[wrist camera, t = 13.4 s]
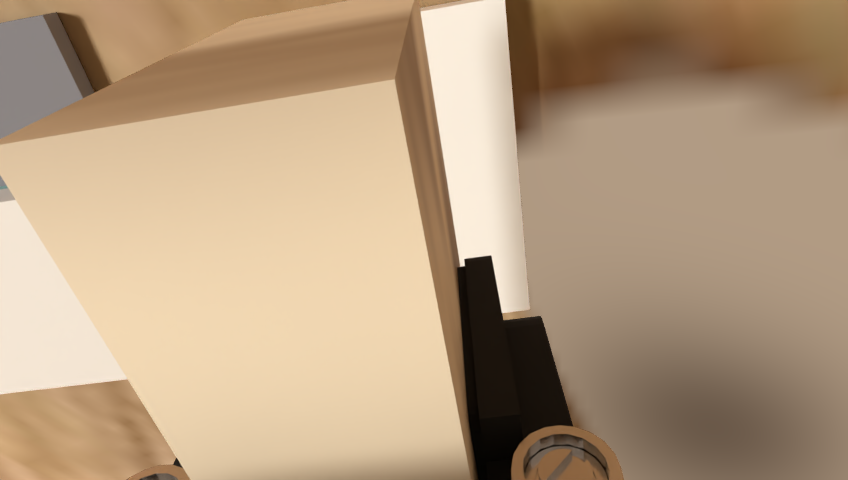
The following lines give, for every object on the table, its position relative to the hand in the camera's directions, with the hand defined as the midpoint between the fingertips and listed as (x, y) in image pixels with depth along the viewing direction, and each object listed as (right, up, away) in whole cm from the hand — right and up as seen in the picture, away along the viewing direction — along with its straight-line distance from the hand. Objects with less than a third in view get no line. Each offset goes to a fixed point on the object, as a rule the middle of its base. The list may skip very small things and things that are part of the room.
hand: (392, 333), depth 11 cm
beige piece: (0, -1, +2) cm, 3 cm away
